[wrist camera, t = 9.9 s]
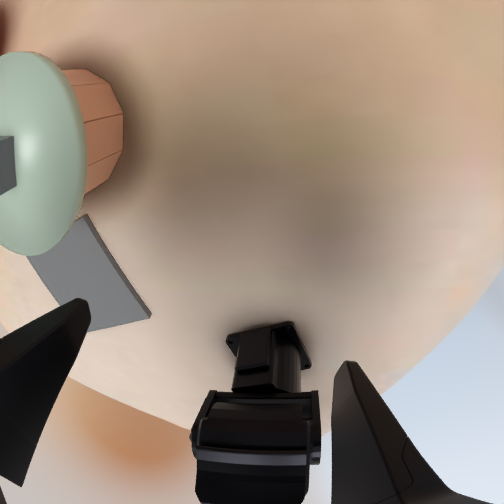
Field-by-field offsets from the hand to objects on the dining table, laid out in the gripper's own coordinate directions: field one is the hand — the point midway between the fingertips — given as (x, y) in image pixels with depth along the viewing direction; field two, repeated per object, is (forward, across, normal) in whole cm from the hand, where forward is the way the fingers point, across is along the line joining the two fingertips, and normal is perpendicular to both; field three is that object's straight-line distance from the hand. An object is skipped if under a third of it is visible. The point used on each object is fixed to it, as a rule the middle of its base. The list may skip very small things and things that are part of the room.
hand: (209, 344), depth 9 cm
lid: (+6, +15, -3) cm, 16 cm away
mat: (+12, +15, +11) cm, 22 cm away
